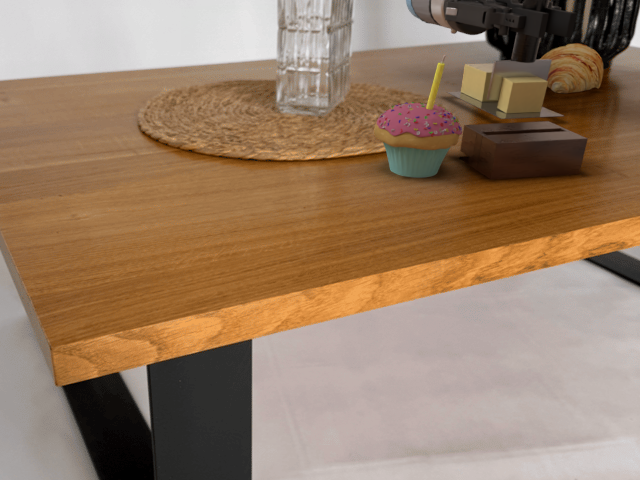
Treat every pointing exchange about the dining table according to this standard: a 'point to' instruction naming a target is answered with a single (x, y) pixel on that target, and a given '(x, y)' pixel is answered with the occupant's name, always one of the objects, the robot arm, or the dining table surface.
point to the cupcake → (418, 134)
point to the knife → (521, 57)
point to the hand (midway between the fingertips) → (557, 25)
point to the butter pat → (522, 94)
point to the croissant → (574, 68)
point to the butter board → (502, 114)
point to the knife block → (522, 149)
